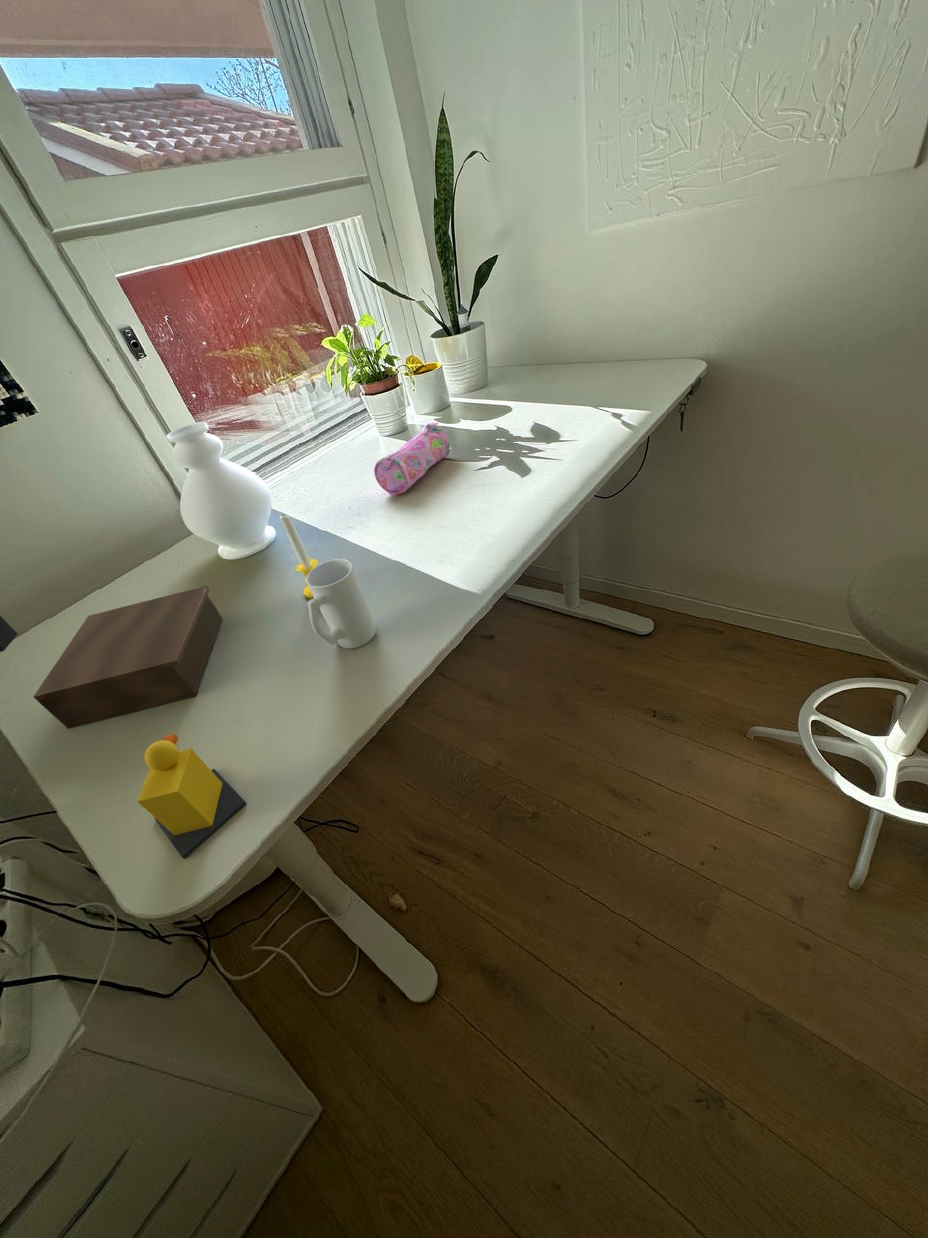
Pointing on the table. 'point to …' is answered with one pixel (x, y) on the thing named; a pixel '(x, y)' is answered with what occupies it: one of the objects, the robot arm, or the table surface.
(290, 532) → the candle
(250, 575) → the table surface
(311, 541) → the table surface
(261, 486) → the decorative vase
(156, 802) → the duck
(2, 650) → the robot arm
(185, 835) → the coaster
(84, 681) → the lid
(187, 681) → the chest
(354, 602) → the mug
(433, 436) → the pencil case
